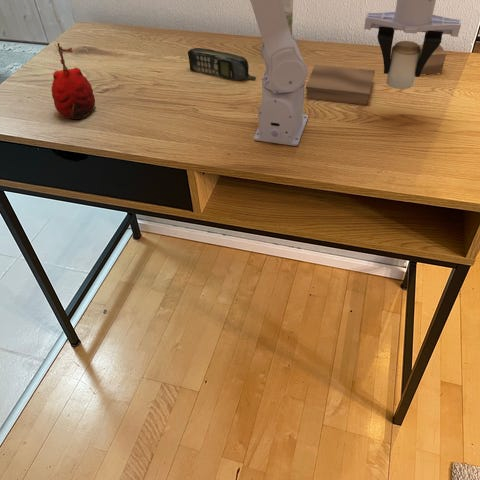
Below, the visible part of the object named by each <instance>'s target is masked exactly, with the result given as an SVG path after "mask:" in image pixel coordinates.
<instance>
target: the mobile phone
mask: <svg viewBox="0 0 480 480" xmlns="http://www.w3.org/2000/svg"><path fill="white" fill-rule="evenodd" d="M187 56H188V61H189V62H188V63H189V69H190V71H192V72H195V73H200V74H205V75H209V76H213V77H218V78H222V79H225V80H230V81H231V80H232V81H241V80H244V79H248V80H253V81H254V80H257V77H256V76H254V75H253V76H252V75H250V74H249V72H250V71H249V69H250V68H249V62H248V60H247V59H246V58H245V57H244V56H240V55H237V54H233V53H229V52H224V51H220V50H219V51H218V50H214V49H209V48H202V47H195V48H191V49H189V50H188V51H187Z"/></svg>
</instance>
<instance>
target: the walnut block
mask: <svg viewBox="0 0 480 480" xmlns="http://www.w3.org/2000/svg"><path fill="white" fill-rule="evenodd" d="M418 45H419V46H420V49H421V51H422V47H423V44H418ZM420 55H421V53H420ZM446 56H447V52H446V51H445V49H444V48H443V47H442V46H441V44H440V45H439V46H438V48H437V49H436V50H435V51H434V52H433V53H432V55H431V56H430V57H429V59H428V61H427V62H426V64H425V66H424V67H423V69H422V72H421V74H434V75H437V74H436V73H441V74H442V71H443V68H444V64H445V60H446ZM419 58H420V57H419ZM421 74H420V76H422V75H421Z"/></svg>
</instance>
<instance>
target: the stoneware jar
mask: <svg viewBox="0 0 480 480" xmlns="http://www.w3.org/2000/svg"><path fill="white" fill-rule="evenodd" d="M419 45H420V44H418V43H417V42H415V41H409V40H401V41H398V42H396V43H394V45H392V47H391V57H390V64H389V70H388V74H386V75H387V76H386V84H387V86H388V87H390V88H393V89H395V90H397V89H398V90H406V89H407V90H409V89H410V88H412V87H413V86H414V83H415V79H416V77H415V75H416V71H417V66H418V62H419V57H420V53H421V49H420V46H419Z"/></svg>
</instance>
